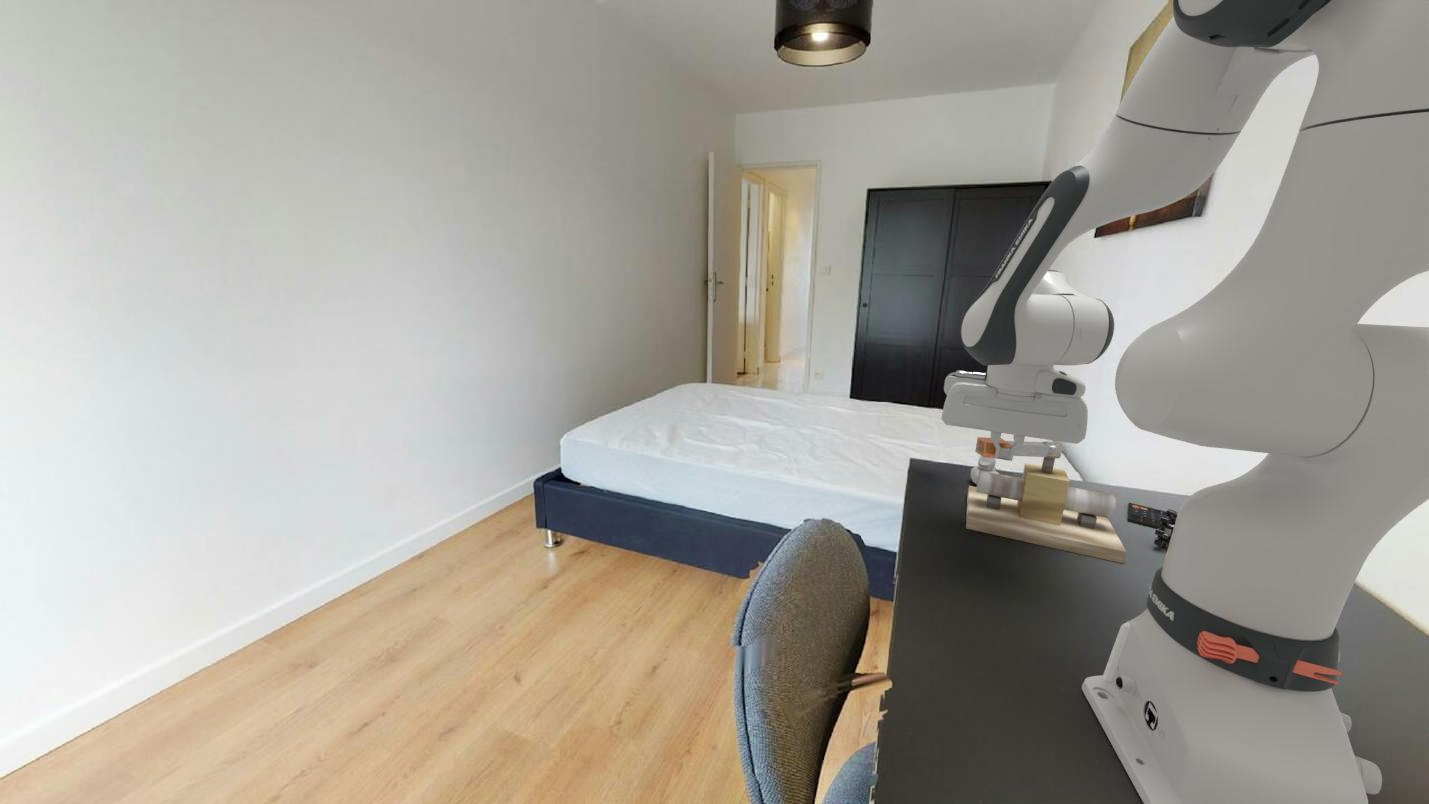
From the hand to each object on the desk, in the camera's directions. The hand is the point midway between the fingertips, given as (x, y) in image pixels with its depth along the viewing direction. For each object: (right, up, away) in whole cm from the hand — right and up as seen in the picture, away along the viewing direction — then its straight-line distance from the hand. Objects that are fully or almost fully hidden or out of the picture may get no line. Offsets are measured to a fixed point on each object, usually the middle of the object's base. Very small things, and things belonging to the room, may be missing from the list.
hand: (1002, 458), depth 85 cm
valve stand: (+9, -12, +6) cm, 17 cm away
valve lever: (+4, 0, +3) cm, 5 cm away
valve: (+29, -16, -4) cm, 34 cm away
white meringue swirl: (+9, -8, +23) cm, 27 cm away
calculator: (+35, -13, +9) cm, 39 cm away
